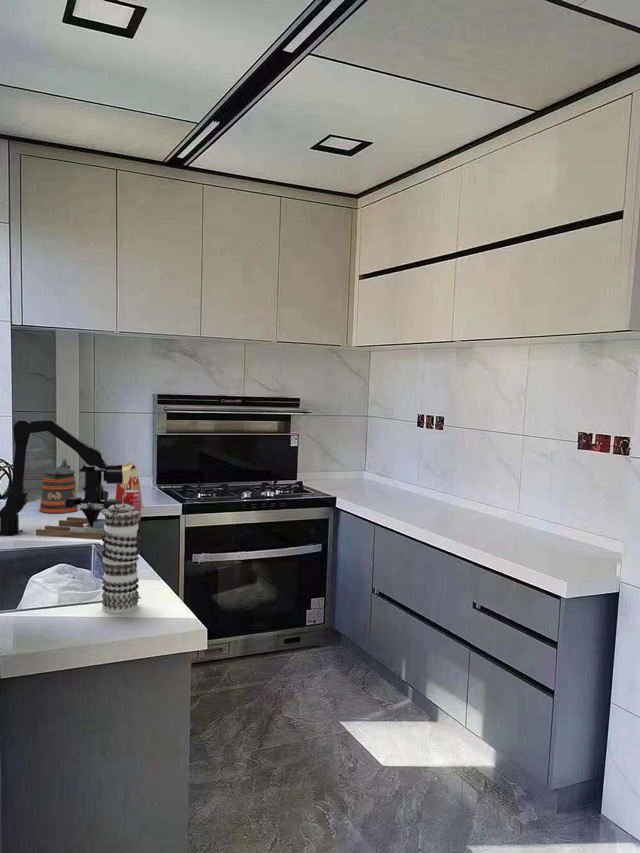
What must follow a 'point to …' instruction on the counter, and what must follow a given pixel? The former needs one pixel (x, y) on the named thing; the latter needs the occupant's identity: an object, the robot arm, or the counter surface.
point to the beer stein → (58, 490)
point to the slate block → (99, 524)
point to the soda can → (133, 500)
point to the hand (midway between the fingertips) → (92, 526)
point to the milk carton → (128, 481)
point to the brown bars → (65, 531)
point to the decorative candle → (120, 559)
